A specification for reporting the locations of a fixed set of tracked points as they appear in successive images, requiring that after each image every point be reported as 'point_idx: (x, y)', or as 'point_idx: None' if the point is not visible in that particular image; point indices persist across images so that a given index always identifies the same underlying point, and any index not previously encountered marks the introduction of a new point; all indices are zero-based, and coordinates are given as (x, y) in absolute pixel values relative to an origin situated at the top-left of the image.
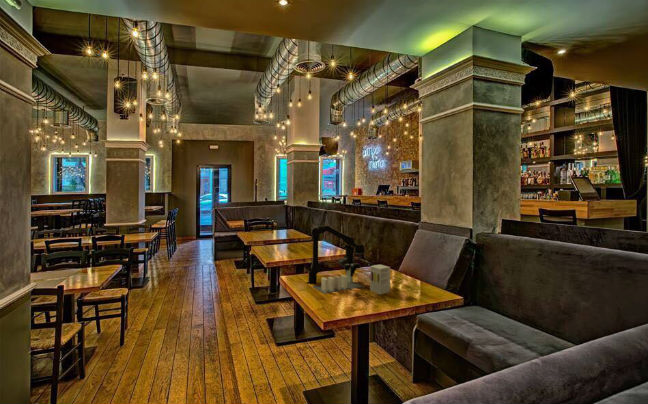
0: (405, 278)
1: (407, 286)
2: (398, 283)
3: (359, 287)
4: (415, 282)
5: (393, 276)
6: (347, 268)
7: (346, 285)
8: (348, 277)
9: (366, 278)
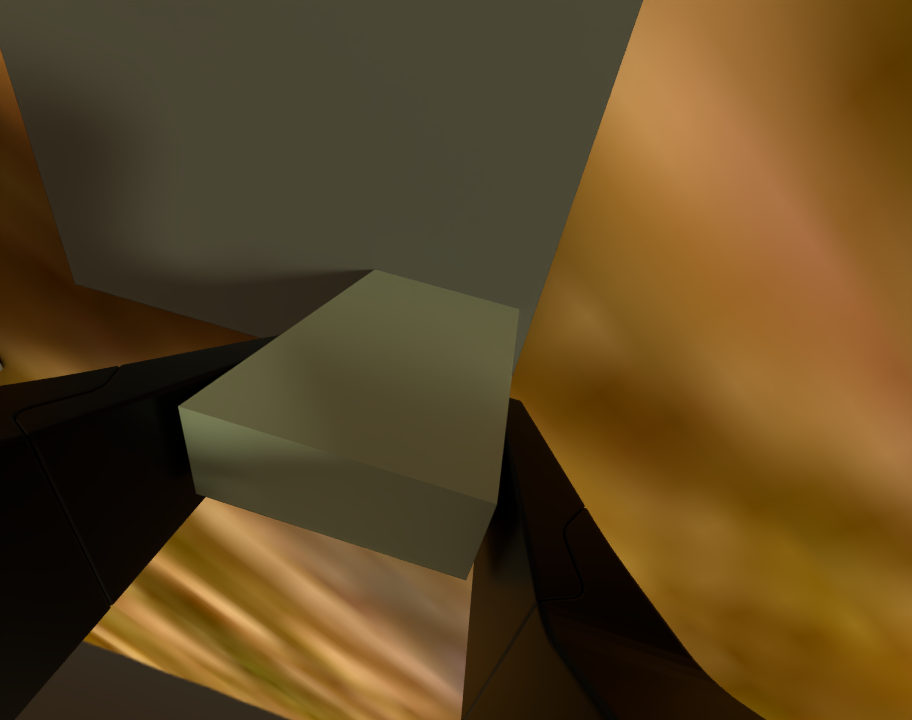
0: (249, 691)
1: None
2: (147, 590)
3: (43, 160)
4: (136, 647)
5: (337, 704)
6: (492, 625)
7: None
8: (408, 325)
9: (440, 593)
